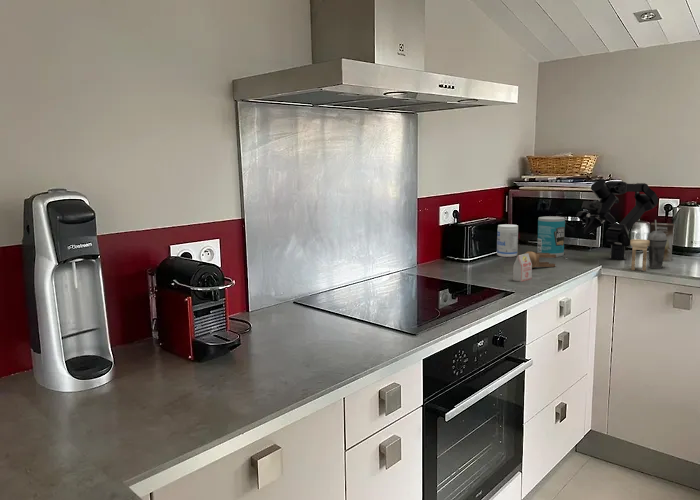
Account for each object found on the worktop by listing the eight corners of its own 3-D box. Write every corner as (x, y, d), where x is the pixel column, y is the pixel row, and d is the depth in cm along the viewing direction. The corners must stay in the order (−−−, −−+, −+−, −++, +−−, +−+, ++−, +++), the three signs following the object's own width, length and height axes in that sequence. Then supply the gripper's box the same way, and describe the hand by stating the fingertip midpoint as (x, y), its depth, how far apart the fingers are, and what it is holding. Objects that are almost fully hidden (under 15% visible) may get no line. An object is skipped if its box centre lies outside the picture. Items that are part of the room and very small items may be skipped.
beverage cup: (669, 269, 229) (672, 220, 226) (651, 269, 230) (654, 220, 226) (659, 265, 237) (662, 218, 233) (642, 266, 237) (645, 219, 233)
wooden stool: (547, 250, 245) (524, 250, 241) (557, 253, 239) (534, 252, 235) (545, 266, 246) (522, 266, 242) (556, 269, 240) (532, 269, 236)
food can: (565, 257, 261) (566, 219, 258) (538, 257, 264) (539, 219, 261) (562, 253, 272) (563, 216, 269) (536, 252, 275) (537, 216, 272)
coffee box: (647, 259, 250) (649, 224, 247) (648, 257, 255) (650, 222, 252) (671, 261, 245) (673, 224, 242) (671, 259, 250) (674, 223, 247)
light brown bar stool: (628, 267, 235) (630, 238, 233) (647, 268, 232) (649, 239, 230) (629, 270, 229) (630, 241, 227) (648, 271, 226) (650, 242, 224)
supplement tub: (492, 255, 271) (493, 225, 269) (505, 253, 277) (505, 223, 274) (509, 258, 263) (509, 227, 261) (521, 255, 269) (522, 225, 267)
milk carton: (513, 280, 218) (513, 254, 216) (523, 277, 222) (523, 252, 220) (521, 281, 215) (521, 256, 213) (531, 278, 219) (532, 253, 217)
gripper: (578, 193, 252) (559, 221, 251) (608, 193, 234) (587, 222, 233) (594, 209, 255) (575, 236, 254) (624, 209, 237) (604, 239, 236)
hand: (584, 233), depth 244 cm, fingers closed
